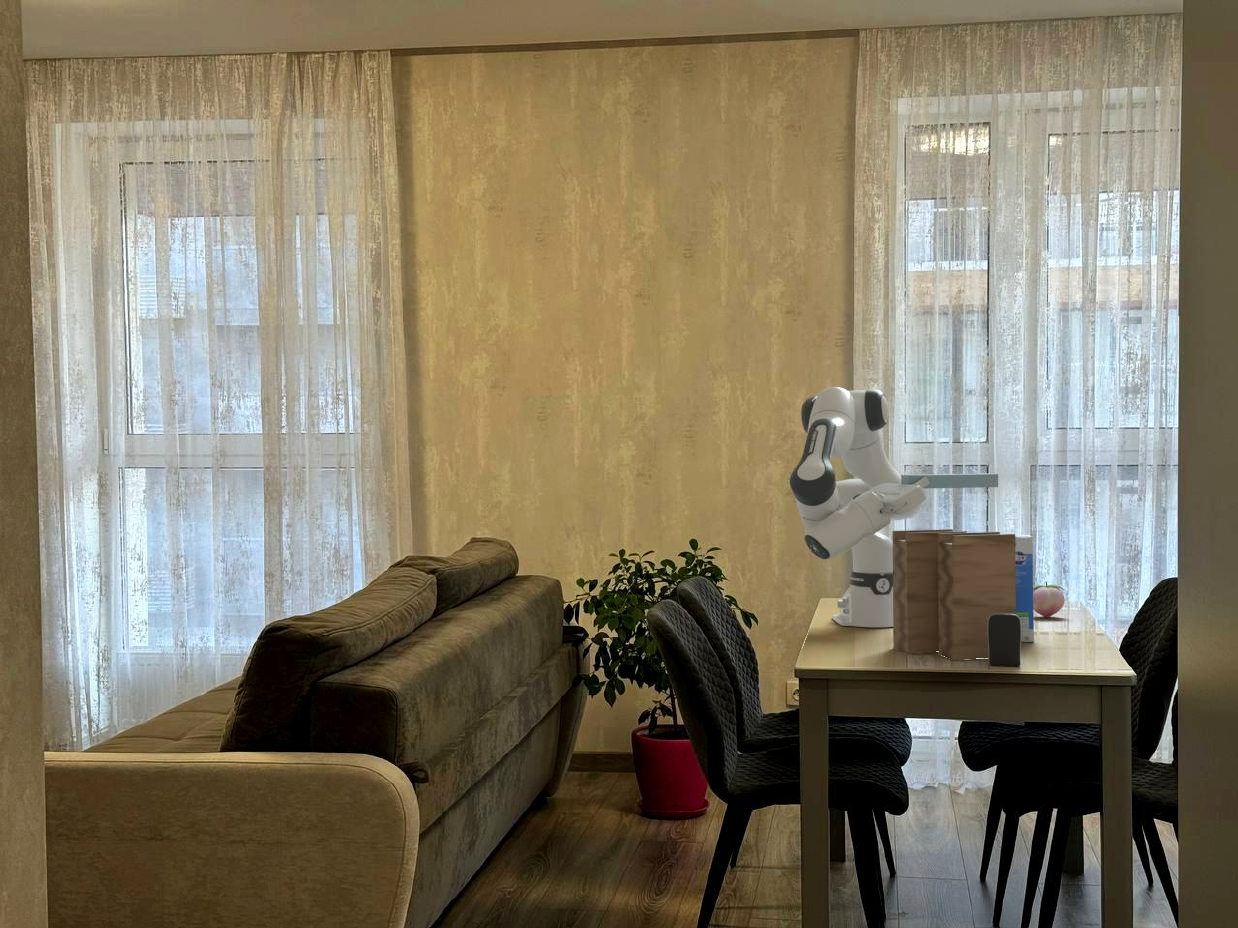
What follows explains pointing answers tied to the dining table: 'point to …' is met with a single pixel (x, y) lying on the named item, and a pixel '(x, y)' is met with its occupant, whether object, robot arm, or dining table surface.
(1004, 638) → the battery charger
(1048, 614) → the decorative fruit
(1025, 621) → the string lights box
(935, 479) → the batten
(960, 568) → the right post
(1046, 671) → the dining table surface
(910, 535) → the left post
